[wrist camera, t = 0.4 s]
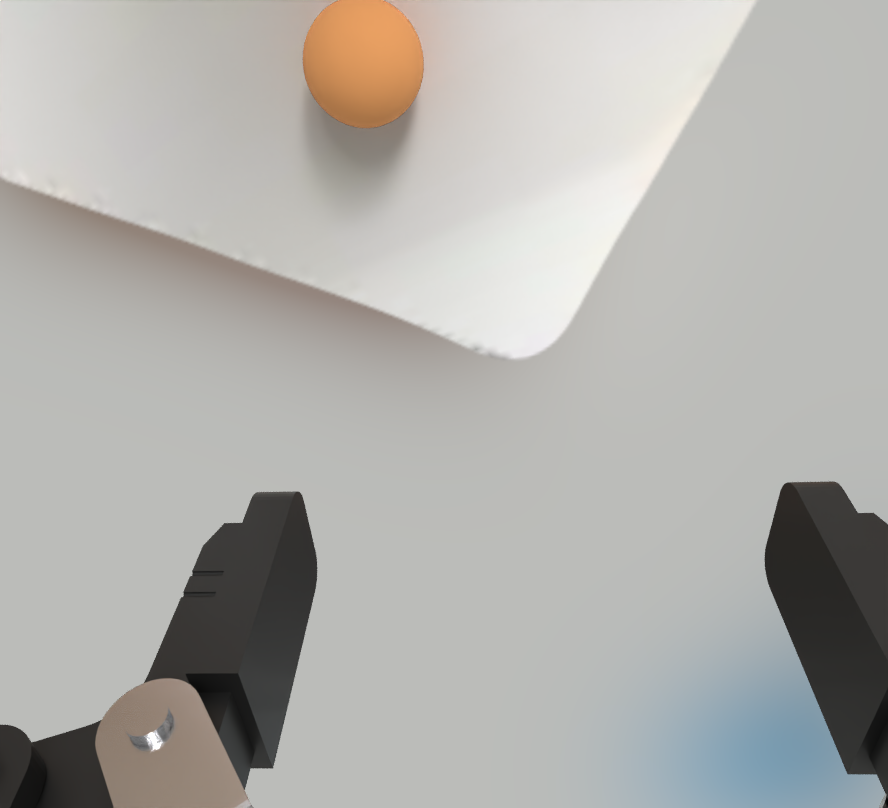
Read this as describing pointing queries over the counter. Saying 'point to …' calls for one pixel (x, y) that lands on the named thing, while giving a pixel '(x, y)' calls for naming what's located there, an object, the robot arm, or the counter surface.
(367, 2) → the ball
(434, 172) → the counter surface
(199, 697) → the robot arm
